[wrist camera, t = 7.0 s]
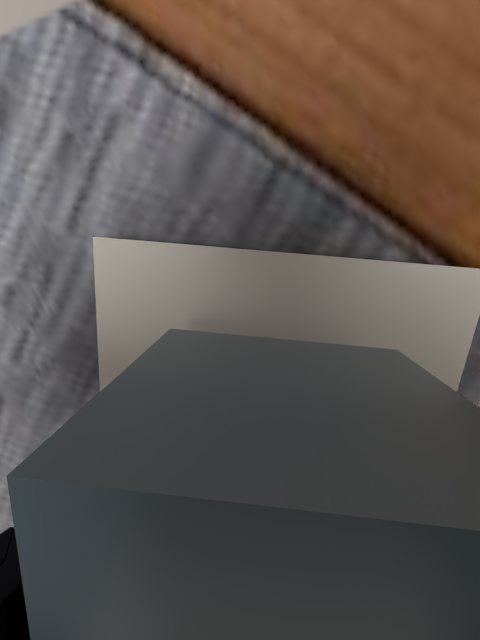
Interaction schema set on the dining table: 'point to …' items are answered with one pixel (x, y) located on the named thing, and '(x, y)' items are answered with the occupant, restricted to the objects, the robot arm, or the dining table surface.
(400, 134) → the dining table surface
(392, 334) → the base plate
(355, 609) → the slate grey cube
